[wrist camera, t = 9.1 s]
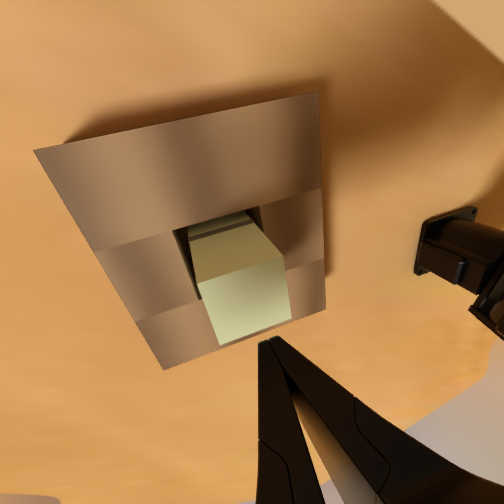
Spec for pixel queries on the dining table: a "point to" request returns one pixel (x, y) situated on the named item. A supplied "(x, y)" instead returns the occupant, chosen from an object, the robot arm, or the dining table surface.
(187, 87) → the dining table surface
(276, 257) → the peg
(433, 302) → the dining table surface
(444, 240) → the robot arm
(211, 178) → the board
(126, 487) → the dining table surface
